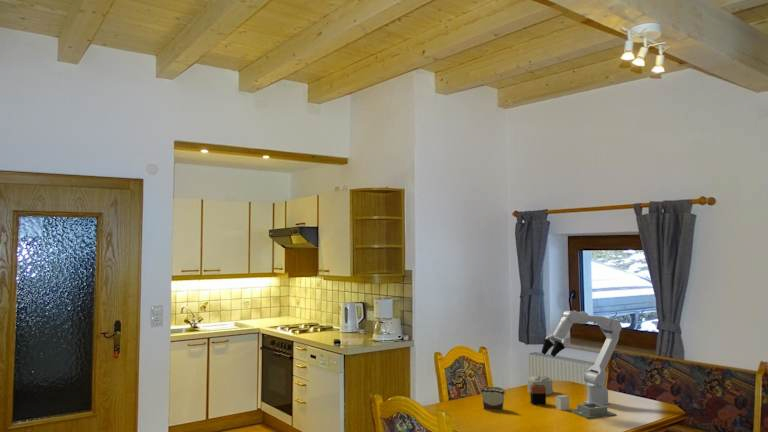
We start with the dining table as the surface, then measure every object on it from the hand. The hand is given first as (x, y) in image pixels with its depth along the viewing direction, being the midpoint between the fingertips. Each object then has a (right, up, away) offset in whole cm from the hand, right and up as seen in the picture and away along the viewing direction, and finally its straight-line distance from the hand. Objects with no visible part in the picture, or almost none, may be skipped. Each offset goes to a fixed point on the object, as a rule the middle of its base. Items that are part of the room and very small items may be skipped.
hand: (547, 354), depth 285 cm
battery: (-2, -27, +9) cm, 29 cm away
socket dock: (+19, -26, -10) cm, 33 cm away
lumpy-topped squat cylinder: (+6, -29, +32) cm, 44 cm away
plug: (+7, -26, -1) cm, 27 cm away
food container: (-26, -27, +1) cm, 38 cm away
